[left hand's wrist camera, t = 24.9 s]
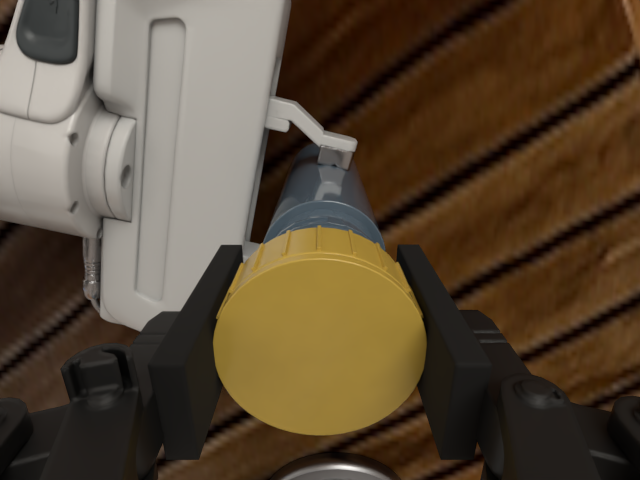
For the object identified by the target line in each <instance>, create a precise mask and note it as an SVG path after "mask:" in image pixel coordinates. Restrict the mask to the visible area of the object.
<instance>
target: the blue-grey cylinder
mask: <svg viewBox="0 0 640 480" xmlns="http://www.w3.org/2000/svg"><path fill="white" fill-rule="evenodd" d="M319 148H320V147H319V146H318V145H317V144H315V143H313V144H310V145H308V146H306V147H305V148H303V149H302V150H301V151H299V153H298V154H297V155H296V156H295V157H294V159H293V161H292V163H291V166H290V169H289V171H288V174H287V177H286V180H285V183H284V185H283V188H282V191H281V194H280V197H279V199H278V202H277V205H276V208H275V211H274V213H273V216H272V219H271V222H270V225H269V227H268V230H267V233H266V236H265V239H264V241H263V244H265V243H267V242H269V241H270V240H272V239H274V238H276V237H278V236H280V235H283V234H285V233H286V231H288V230H290V231H291V232H292V231H295V230H300V229H306V228H317V226H318V225H321V227H324V228H335V229H340V230H345V231H349V230H352V232H353V233H355V234H357V235H360V236H362V237H364V238H366V239H368V240H370V241H372V242H373V243H375V244H376V242H377V243H379V244H380V247H381V248H382V249H383V250H384V251H385V245H384V241H383V238H382V235H381V233H380V230H379V227H378V224H377V222H376V219H375V216H374V213H373V211H372V208H371V205H370V203H369V200H368V197H367V194H366V192H365V189H364V186H363V183H362V181H361V178H360V175H359V173H358V170H357V167H356V165H355V162H354V160H352V164H351V167H350V170H345V169H341V168H338V167H337V166H336V165H335V164H334V165H331V166H328V165H323V164H319V163H317V160H318V159H317V158H318V153H319ZM385 252H386V251H385Z"/></svg>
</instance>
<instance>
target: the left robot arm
mask: <svg viewBox="0 0 640 480" xmlns="http://www.w3.org/2000/svg"><path fill="white" fill-rule="evenodd" d="M397 262H398V263H399V264H400V266H401V269H402V271H403V273H404V275H405V278H406V280H407V282H408V285H409V286H410V287H411V289H412V291H413V293H414V296H415V298H416V300H417V302H418V305H419V307H420V309H421V311H422V314H423V317H424V318H422V320H423V323H424V327H425V331H426V336H427V348H426V356H425V364H424V370H423V372H422V375H421V378H420V380H419V382H418V383H417V387H418V390H419V393H420V396H421V399H422V402H423V405H424V409H425V412H426V415H427V418H428V421H429V424H430V427H431V430H432V433H433V437H434V440H435V443H436V446H437V449H438V452H439V455H440V458H441V460H473V459H474V454H475V449H476V444H477V442H478V444H479V447H480V449H481V451H482V453H483V456H484V458H485V461H484V465H483V470H482V475H481V479H480V480H640V397H637V396H626V397H621V398H619V399H618V400H617V401H615V403H614V406H613V408H612V411H611V412H609V411H605V410H600V409H596V408H591V407H587V406H582V405H578V404H575V403H572V402H570V400H569V399H568V397H567V396H566V394H565V393H564V392H563V391H562V390H561V389H560V388H558V387H557V386H556V385H555V384H553V383H551V382H549V381H547V380H546V379H544V378H542V377H538V376H535V375H532V374H531V373H530V372H529V370H528V369H527V368H526V366H525V365H524V363H523V362H522V361H521V359H520V358H519V357H518V355H517V354H516V352H515V351H514V350H513V348H512V347H511V346H510V344H509V343H507V340H506V339H505V337H504V336H503V335H502V333H500V330H499V329H498V328H497V326H496V325H495V324H494V322H493V321H492V320H491V319H490V318H488V317H487V316H486V315H484V314H483V313H481V312H480V311H478V310H458V308H457V306H456V305H455V303H454V302H453V300H452V298H451V297H450V295H449V293H448V292H447V290H446V289H445V287H444V285H443V284H442V282H441V280H440V279H439V277H438V275H437V274H436V272H435V271H434V269H433V267H432V266H431V264H430V262H429V261H428V259H427V258H426V256H425V254H424V253H423V251H422V249H421V248H420V246H419V245H398V248H397V261H396V263H397ZM241 263H243V251H242V245H221V246H220V247H219V249H218V251H217V252H216V254H215V256H214V257H213V259H212V260H211V262H210V264H209V265H208V267H207V269H206V270H205V272H204V273H203V275H202V277H201V278H200V280H199V282H198V283H197V285H196V287H195V288H194V290H193V291H192V293H191V295H190V296H189V298H188V300H187V301H186V303H185V304H184V306H183V308H182V309H181V311H162V312H161V313H159V314H158V315H156V316H155V317H153V318H152V319H150V320H149V321H148V322H147V323H146V325H145V326H144V328H143V329H142V330H141V332H140V335H138V336H137V337H136V339H135V340H134V341H133V344H131V346H130V347H128V346H126V345H123V344H118V343H108V344H101V345H97V346H93V347H90V348H88V349H85V350H83V351H81V352H79V353H77V354H76V355H74V356H73V357H71V358H70V359H69V360H67V361H66V363H65V364H64V365H63V366H62V368H61V373H62V376H63V379H64V382H65V386H66V389H67V392H68V396H69V399H70V403H69V404H67V405H64V406H60V407H56V408H52V409H47V410H43V411H38V412H34V413H30V414H29V412H28V409H27V407H26V404H25V403H24V402H23V401H21V400H20V399H17V398H9V397H8V398H2V399H0V480H158V471H157V465H156V461H155V459H156V457H157V455H158V453H159V450H160V448H161V446H162V443H163V445H164V450H165V455H166V460H199V458H200V454H201V451H202V448H203V445H204V442H205V439H206V436H207V433H208V430H209V426H210V423H211V420H212V417H213V414H214V411H215V408H216V405H217V402H218V399H219V395H220V392H221V389H222V386H223V384H222V382H221V380H220V378H219V375H218V373H217V370H216V365H215V357H214V349H213V336H214V330H215V326H216V323H217V320H218V319H216V316H217V314H218V312H219V309H220V307H221V305H222V303H223V300H224V298H225V296H226V294H227V292H228V289H229V287H230V286H231V284H232V282H233V279H234V277H235V275H236V273H237V270H238V268H239V266H240V264H241ZM270 480H401V479H400V478H399V477H398V475H397V474H396V473H394V472H393V471H392V470H391V469H390V468H388V467H387V466H385V465H383V464H382V463H380V462H378V461H376V460H373V459H371V458H368V457H364V456H361V455H356V454H350V453H321V454H315V455H311V456H307V457H304V458H301V459H298V460H296V461H293V462H291V463H289V464H288V465H286V466H284V467H283V468H281V469H280V470H279V471H278V472H276V473H275V474H274V475H273V476H272V478H271V479H270Z"/></svg>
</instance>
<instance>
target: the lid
mask: <svg viewBox="0 0 640 480" xmlns="http://www.w3.org/2000/svg"><path fill="white" fill-rule="evenodd" d="M422 318H424V317H423V314H422V311H421V309H420V307H419V305H418V302H417V300H416V298H415V296H414V293H413V291H412V289H411V287H410V286H409V285H408V282H407V280H406V278H405V275H404V273H403V271H402V269H401V266H400V264H399V263H398V262H397V263H395V262H394V260H393V259H392V258H391V257H390V256H389V255H388V254H387V253H386V252H385V251H384V250H383V249H382V248H381V247H380V244H379V243H377V242H376V244H375V243H373V242H372V241H370V240H368V239H366V238H364V237H362V236H360V235H357V234H355V233H353V232H352V230H349V231H345V230H340V229H335V228H324V227H321V225H318V226H317V228H306V229H300V230H295V231H292V232H291V231H290V230H288V231H286V233H285V234H283V235H280V236H278V237H276V238H274V239H272V240H270V241H269V242H267V243H265V244H263V243H261V244H260V245H259V248H258V249H257V250H256V251H255V252H254V253H253V254H252V255H251V256H250V257H249V258H248V259H247V260H246V262H245V263H244V264H243V263H241V264H240V266H239V268H238V270H237V273H236V275H235V277H234V279H233V282H232V284H231V286H230V287H229V289H228V292H227V294H226V296H225V298H224V300H223V303H222V305H221V307H220V309H219V312H218V314H217V316H216V319H218V320H217V323H216V326H215V330H214V336H213V349H214V357H215V365H216V370H217V373H218V375H219V378H220V380H221V382H222V384H223V385H224V387H225V389H226V390H227V391H228V393H229V394H230V396H231V397H232V398H233V399H234V400H235V401H236V402H237V403H238V404H239V405H240V406H241V407H242V408H243V409H244V410H246V411H247V412H248V413H249V414H251V415H252V416H254V417H255V418H257V419H259V420H261V421H262V422H264V423H266V424H268V425H271V426H273V427H276V428H278V429H281V430H285V431H289V432H292V433H298V434H304V435H335V434H343V433H347V432H351V431H356V430H359V429H361V428H364V427H367V426H369V425H372V424H374V423H376V422H378V421H380V420H381V419H383V418H385V417H386V416H388V415H389V414H391V413H392V412H393V411H395V410H396V409H397V408H398V407H399V406H400V405H401V404H402V403H403V402H404V401H405V400H406V399H407V398H408V397H409V396H410V394H411V393H412V392H413V390H414V389H415V387H416V385H417V383H418V382H419V380H420V378H421V375H422V372H423V370H424V364H425V356H426V348H427V336H426V331H425V327H424V323H423V320H422Z"/></svg>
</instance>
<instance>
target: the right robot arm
mask: <svg viewBox="0 0 640 480" xmlns="http://www.w3.org/2000/svg"><path fill="white" fill-rule="evenodd" d="M290 10H291V0H18V3H17V6H16V10H15V13H14V17H13V20H12V23H11V27H10V30H9V33H8V36H7V39H6V42H5V44H4V45H0V220H4V221H8V222H13V223H19V224H23V225H28V226H33V227H38V228H43V229H47V230H51V231H56V232H61V233H66V234H71V235H76V236H80V237H82V253H83V261H84V269H85V274H84V277H83V293H84V296H85V298H87V299H89V300H91V303H92V305H93V307H94V308H95V309H96V311H97V312H98V313H99V314H100V316H101V317H102V318H103V319H104V320H106V321H109V322H112V323H116V324H122V325H125V326H127V327H130V328H132V329H135V330H137V331H140V332H141V330H142V329H143V328H144V326H145V325H146V323H147V322H148V321H149V320H150V319H152V318H153V317H155V316H156V315H158V314H159V313H161V312H162V311H181V309H182V308H183V306H184V304H185V303H186V301H187V300H188V298H189V296H190V295H191V293H192V291H193V290H194V288H195V287H196V285H197V283H198V282H199V280H200V278H201V277H202V275H203V273H204V272H205V270H206V269H207V267H208V265H209V264H210V262H211V260H212V259H213V257H214V256H215V254H216V252H217V251H218V249H219V247H220V246H221V245H242V251H243V264H244V263H245V262H246V260H247V259H248V258H249V257H250V256H251V255H252V254H253V253H254V252H255V251H256V250H257V249H258V248H259V245H260V244H258V243H253V242H250V237H251V231H252V225H253V220H254V214H255V208H256V203H257V197H258V191H259V186H260V180H261V174H262V169H263V163H264V157H265V152H266V146H267V140H268V135H269V129H273V130H278V131H282V132H287V131H288V130H289V128H290V127H291V125H292V122H293V123H294V124H295V125H296V126H297V127H298V128H299V129H300V130H301V131H302V132H304V133H305V134H306V135H307V136H308V137H309V138H310V139H311V140H312V141H313V142H314V143H315V144H317V145H318V146H319V147H320V148H319V153H318V158H317V159H318V160H317V163H319V164H323V165H328V166H331V165H334V164H335V165H336V166H337V167H338V168H341V169H345V170H350V167H351V164H352V160H353V157H354V153H355V149H356V146H357V140H356V139H354V138H352V137H349V136H345V135H341V134H336V133H332V132H328V131H324V128H323V127H322V126H321V125H320V124H319V123H318V122H317V121H316V120H315V119H314V118H313V117H312V116H311V115H310V114H309V113H308V112H307V111H306V110H305V109H303V108H302V107H301V106H300V105H299V104H298V103H297V102H296V101H292V100H288V99H284V98H279V97H275V95H276V89H277V84H278V78H279V72H280V67H281V61H282V55H283V50H284V44H285V38H286V33H287V27H288V21H289V15H290ZM99 298H100V302H99V300H98V299H99Z"/></svg>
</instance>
